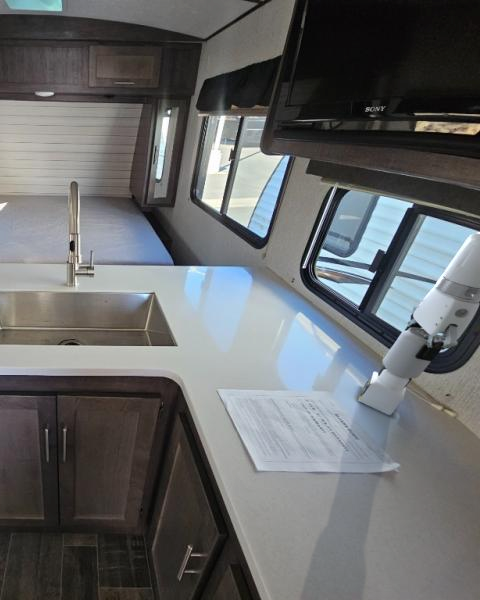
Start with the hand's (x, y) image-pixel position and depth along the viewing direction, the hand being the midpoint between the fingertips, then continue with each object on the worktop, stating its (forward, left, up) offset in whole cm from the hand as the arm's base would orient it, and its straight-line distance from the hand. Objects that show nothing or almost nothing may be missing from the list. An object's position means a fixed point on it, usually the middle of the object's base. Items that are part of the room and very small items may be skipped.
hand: (414, 348), depth 81 cm
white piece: (0, 0, -20) cm, 20 cm away
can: (0, 0, -7) cm, 7 cm away
